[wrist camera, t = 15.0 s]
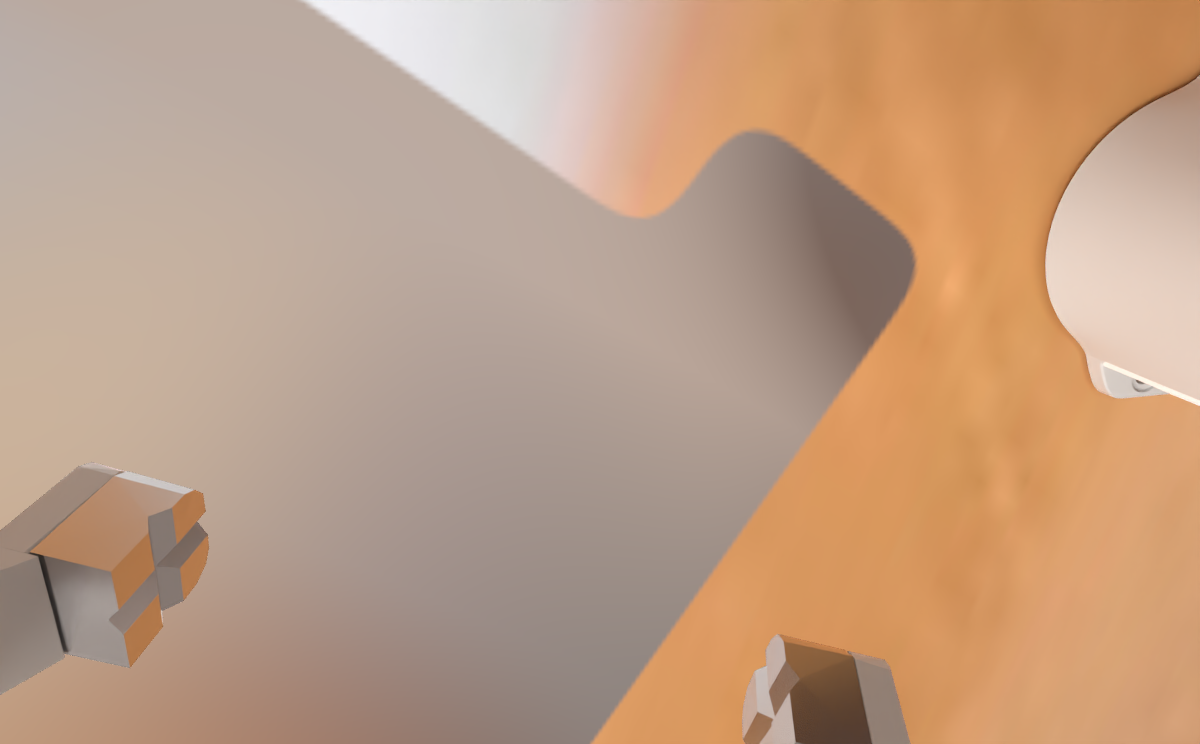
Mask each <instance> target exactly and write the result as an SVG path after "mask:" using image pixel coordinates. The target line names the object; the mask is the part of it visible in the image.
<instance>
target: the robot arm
mask: <svg viewBox="0 0 1200 744" xmlns="http://www.w3.org/2000/svg"><path fill="white" fill-rule="evenodd" d="M1045 268H1046V282H1047V288H1048V293H1049V297H1050V300H1051V303H1052V305H1053V308H1054V310H1055V312H1056V314H1057V316H1058V318H1059V320H1060V321H1061V323H1062V324H1063V325H1064V327H1065V328H1066V329H1067V330H1068V332H1069V333H1070V334H1071V335H1072V336H1073V337H1074V338H1075V339H1076V340H1077V342H1078V343H1079V344H1080V345H1081V347H1082V348H1083V350H1084V352H1085V353H1086V359H1087V364H1088V369H1089V373H1090V377H1091V380H1092V382H1093V385H1094V386H1095V388H1096V389H1097V390H1098V391H1099V392H1101V393H1104V394H1106V395H1109V396H1112V397H1114V398H1133V397H1143V396H1153V395H1163V394H1172V395H1174V396H1177V397H1179V398H1182V399H1184V400H1186V401H1189V402H1191V403H1194V404H1196V405H1198V406H1200V75H1199V76H1198V77H1197V78H1196V79H1195V80H1193V81H1192V82H1190V83H1189V84H1187V85H1186V86H1184V87H1182V88H1180V89H1178V90H1176V91H1174V92H1172V93H1170V94H1168V95H1166V96H1164V97H1162V98H1160V99H1158V100H1156V101H1154V102H1152V103H1150V104H1148V105H1147V106H1145V107H1143V108H1142V109H1140V110H1138V111H1137V112H1135V113H1134V114H1132V115H1131V116H1130V117H1128V118H1127V119H1126V120H1124V121H1123V122H1122V123H1121V124H1119V125H1118V126H1117V127H1116V128H1114V129H1113V130H1112V131H1111V132H1110V133H1109V134H1108V135H1107V136H1106V137H1105V138H1104V139H1103V140H1102V141H1101V142H1100V143H1099V144H1098V145H1097V146H1096V147H1095V148H1094V150H1093V151H1092V152H1091V153H1090V154H1089V155H1088V157H1087V158H1086V159H1085V161H1084V162H1083V163H1082V165H1081V166H1080V168H1079V169H1078V170H1077V172H1076V173H1075V175H1074V177H1073V178H1072V180H1071V182H1070V183H1069V185H1068V187H1067V189H1066V191H1065V192H1064V194H1063V197H1062V199H1061V201H1060V203H1059V205H1058V208H1057V210H1056V213H1055V216H1054V219H1053V222H1052V225H1051V229H1050V233H1049V237H1048V243H1047V250H1046V263H1045ZM205 511H206V510H205V504H204V498H203V493H201V492H198V491H196V490H193V489H190V488H186V487H182V486H179V485H175V484H172V483H168V482H164V481H161V480H157V479H153V478H150V477H147V476H143V475H139V474H136V473H132V472H128V471H123V470H119V469H116V468H112V467H108V466H105V465H100V464H97V463H93V462H91V463H88V464H84V465H81V466H79V467H77V468H76V469H74V470H73V471H72V472H71V473H69V474H68V475H67V476H66V477H65V478H63V479H62V480H61V481H60V482H59V483H57V484H56V485H55V486H54V487H52V488H51V489H50V490H49V491H48V492H46V493H45V494H44V495H43V496H42V497H40V498H39V499H38V500H37V501H36V502H34V503H33V504H32V505H31V506H29V507H28V508H27V509H26V510H25V511H23V512H22V513H21V514H20V515H18V516H17V517H16V518H15V519H14V520H12V521H11V522H10V523H9V524H8V525H6V526H5V527H4V528H3V529H1V530H0V695H1V694H2V693H4V692H6V691H8V690H9V689H11V688H13V687H15V686H17V685H18V684H20V683H22V682H23V681H25V680H27V679H29V678H30V677H32V676H34V675H36V674H37V673H39V672H41V671H43V670H44V669H46V668H48V667H50V666H51V665H53V664H55V663H56V662H58V661H60V660H62V659H63V658H64V657H65V655H64V654H69V655H73V656H78V657H82V658H87V659H91V660H96V661H100V662H105V663H110V664H114V665H119V666H124V667H128V668H130V667H131V666H132V665H133V663H134V662H135V661H136V660H137V658H138V657H139V656H140V655H141V654H142V652H143V651H144V650H145V649H146V647H147V646H148V645H149V644H150V642H151V641H152V640H153V639H154V637H155V636H156V635H157V634H158V632H159V631H160V630H161V629H162V627H163V619H162V611H163V610H165V609H167V608H169V607H171V606H174V605H175V604H178V603H180V602H182V601H184V599H185V598H186V597H187V595H188V594H189V593H190V592H191V590H192V589H193V588H194V586H195V585H196V584H197V582H198V580H199V577H200V575H201V573H202V571H203V569H204V567H205V564H206V561H207V555H208V550H209V544H208V534H207V533H206V532H205V531H204V529H203V528H202V527H201V526H200V525H199V523H198V522H197V521H198V520H199V518H200V517H201V516H202V515H203V514H204V513H205ZM766 664H767V665H766V666H764V667H762V668H760V669H758V670H756V671H755V672H754V674H753V676H752V679H751V681H750V683H749V685H748V688H747V692H746V697H745V701H744V705H743V719H742V727H743V740H744V742H745V744H910V740H909V736H908V732H907V729H906V725H905V721H904V717H903V714H902V710H901V706H900V702H899V699H898V695H897V691H896V687H895V684H894V680H893V676H892V673H891V669H890V666H889V665H888V664H887V662H886V661H885V660H883V659H879V658H875V657H871V656H867V655H863V654H858V653H854V652H850V651H845V650H843V649H839V648H835V647H831V646H826V645H822V644H818V643H814V642H810V641H805V640H801V639H797V638H793V637H788V636H784V635H780V634H777V635H776V636H775V637H773V638H772V639H771V641H770V643H769V645H768V647H767V649H766Z"/></svg>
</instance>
